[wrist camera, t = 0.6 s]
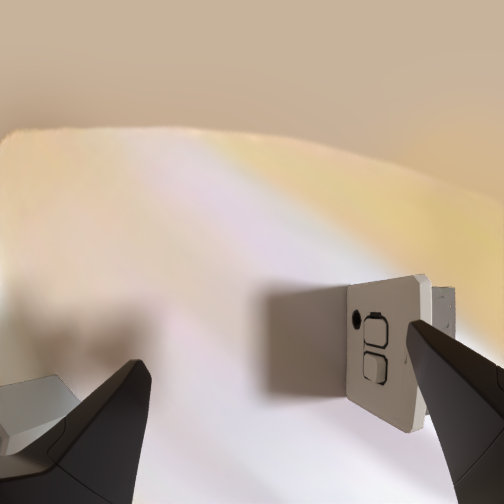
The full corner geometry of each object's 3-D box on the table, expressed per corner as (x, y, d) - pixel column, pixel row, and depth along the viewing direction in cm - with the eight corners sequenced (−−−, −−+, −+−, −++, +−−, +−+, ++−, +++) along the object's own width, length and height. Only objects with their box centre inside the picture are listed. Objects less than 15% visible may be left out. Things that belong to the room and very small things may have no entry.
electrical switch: (344, 284, 23) (390, 274, 14) (401, 281, 23) (466, 270, 14) (343, 397, 22) (383, 443, 13) (399, 389, 22) (457, 424, 12)
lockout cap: (86, 407, 24) (3, 439, 13) (72, 434, 24) (-3, 467, 12) (56, 373, 26) (-29, 389, 14) (43, 402, 25) (-33, 422, 14)
